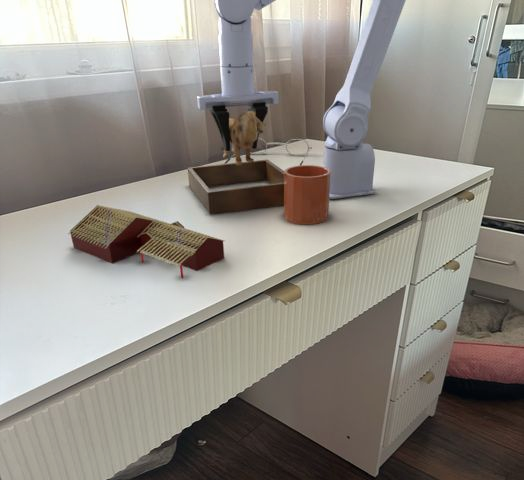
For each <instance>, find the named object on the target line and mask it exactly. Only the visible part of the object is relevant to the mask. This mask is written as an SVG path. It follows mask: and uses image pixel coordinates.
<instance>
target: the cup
mask: <svg viewBox="0 0 524 480" xmlns="http://www.w3.org/2000/svg"><path fill="white" fill-rule="evenodd" d="M299 165H300V164H299ZM299 165H294V166H290V167H287V168H285V169H283V171H284V205H283V217H284V220H285V221H287V222H289V223H291V224H294V225H304V226H305V225H306V226H307V225H318V224H322V223H324V222H326V221H327V220H328V219H329V213H330V212H329V209H330V198H329V193H330V174H331V172H330V170H329V169H328V168H326V167H324V166H320V165H314V164H302V165H300V166H299Z"/></svg>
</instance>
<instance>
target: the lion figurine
mask: <svg viewBox="0 0 524 480" xmlns="http://www.w3.org/2000/svg"><path fill="white" fill-rule="evenodd" d="M266 126H267V125H266V123H264V121H263V122H261V121H260V120H259V119H258V118H257V117H256V113H255V112H253V111H248V110H247V111H245V112H243V113H241V114H240V115H239V116H237V118H230V117H229V137H230V144H231V145H232V146H231V151H232V153H234V154H235V155H234V157H235V158H234V159H235V162H234V163H235V165H242V162H243V161H242V157H241V149H245V148H246V149H245V160H246V161H245V162H253V161H255V159H254V158H251V153H252V148H251V146H253V142H254V141H255V140H256V139H257V136H258V134H259V136H263V135H264V131H265V128H266ZM240 148H241V149H240ZM220 150H222V151H223V155H222V158H223V159H229V158H230V154H229V151H226V150H224V146H221V147H220Z"/></svg>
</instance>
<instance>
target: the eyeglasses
mask: <svg viewBox="0 0 524 480" xmlns="http://www.w3.org/2000/svg"><path fill="white" fill-rule="evenodd" d="M258 140H261V141H263V142H264V143H265V150H264V151H262V152H260V153H258V155H262V154H264V153H265V152H266V151H267V150H268V146H272V145H273V146H275V145H276V146H285V150H286V151H287V153H288V154H289V155H292V156H295V157H300V156H304V155H305V156H304V157H303V159H302V161H301V162H300V164H299V165H298V166H300V165H303V163H304V160H305V159H306V157H307V156H308V154H309V152H310V151H311V150H312V148H313V147H312V146H310V145H309V143H308V142H307V141H306V140H305V139H302V138H292V139H290V140H288V141H287V142H286V143H285V142H279V141H278V142H276V141H275V142H267V141H266V140H265V139H263V138H261V137H258ZM295 140H296V141H297V140H300V141H303V142H305V143H306V145H307V151H306V152H305V153H302V154H293V153H291V152H290V151H289V150H288V148H287V147H288V143H290V141H295ZM241 149H242V148H240V150H241ZM244 149H245V150H246V148H244ZM251 154H252V155H256V153H254V152H251V153H250V155H251ZM233 157H235V153H234V154H233V155H232V156H230V157H228V158H227V159H226V160H225V162H224V164H228V162H230V160H231V159H232V158H233Z"/></svg>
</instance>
